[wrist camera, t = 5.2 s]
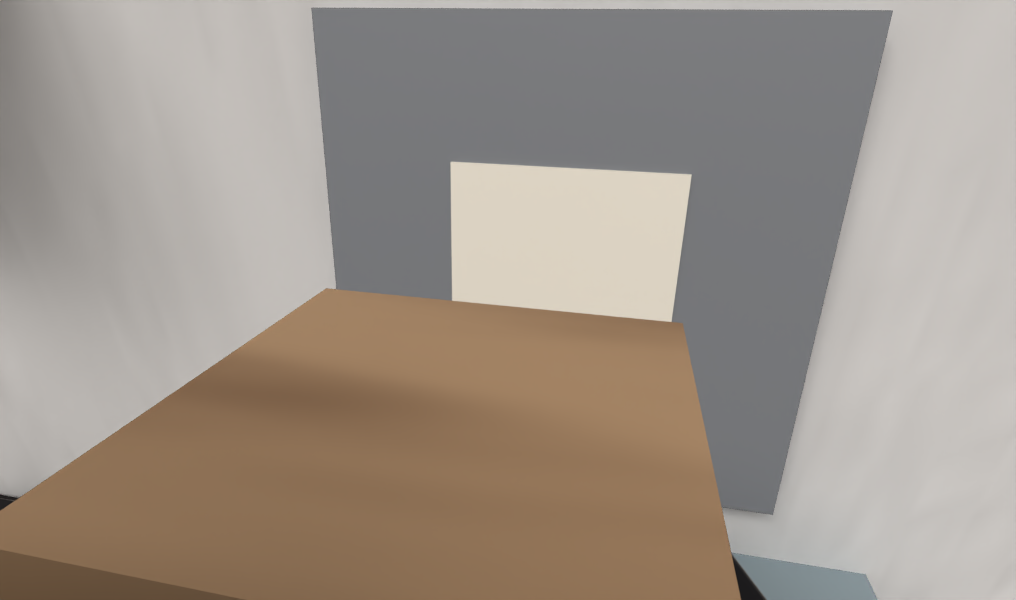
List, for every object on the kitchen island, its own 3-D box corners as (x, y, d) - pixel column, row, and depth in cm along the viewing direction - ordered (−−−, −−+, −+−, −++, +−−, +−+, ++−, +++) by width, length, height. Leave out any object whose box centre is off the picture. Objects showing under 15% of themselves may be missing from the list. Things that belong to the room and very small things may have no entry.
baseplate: (767, 497, 19) (773, 516, 18) (360, 438, 21) (349, 452, 20) (879, 14, 14) (894, 10, 13) (326, 11, 16) (309, 7, 15)
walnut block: (640, 607, 9) (651, 1121, 5) (351, 554, 10) (121, 945, 6) (682, 323, 7) (763, 704, 3) (326, 288, 8) (-43, 541, 4)
